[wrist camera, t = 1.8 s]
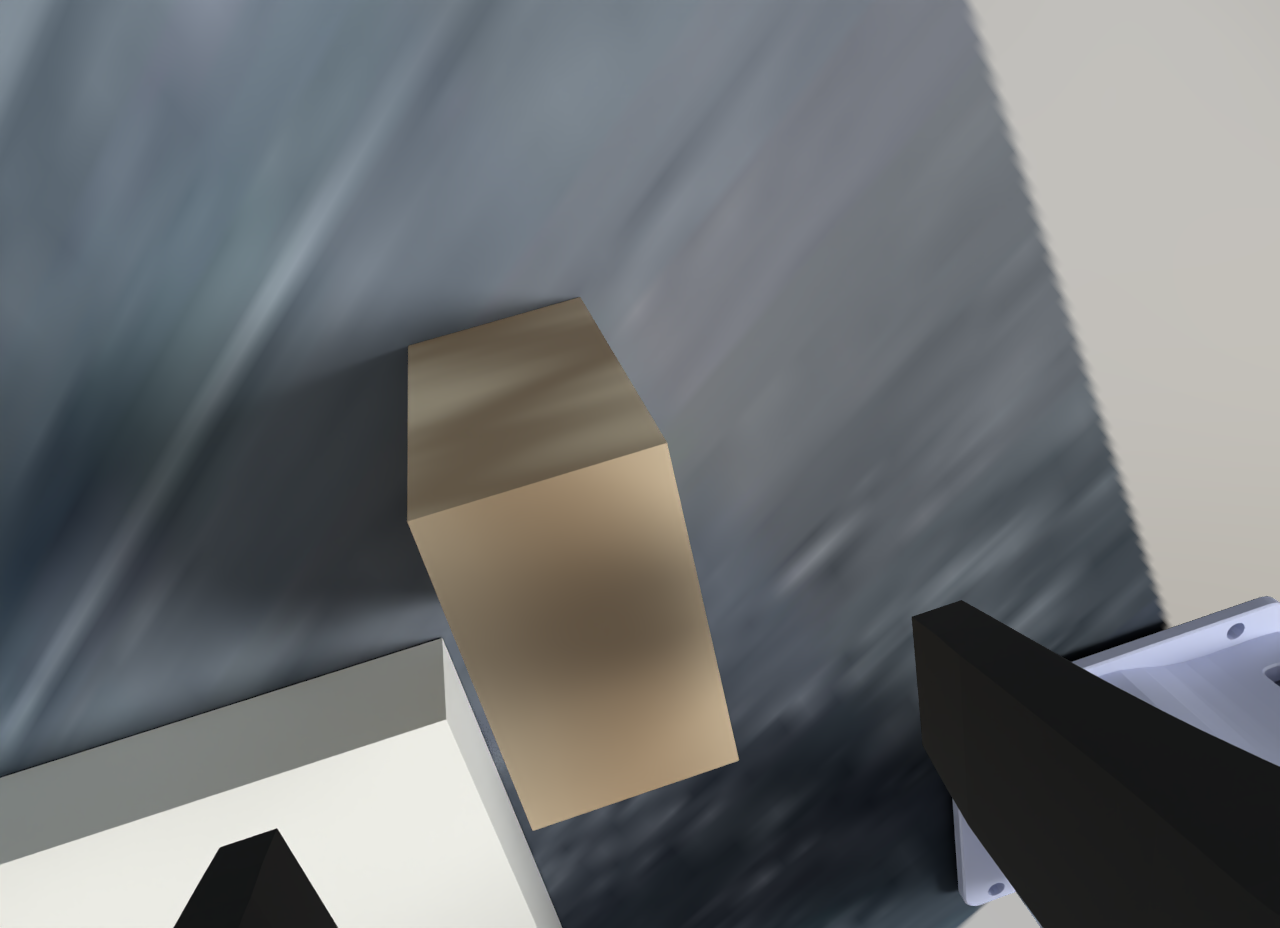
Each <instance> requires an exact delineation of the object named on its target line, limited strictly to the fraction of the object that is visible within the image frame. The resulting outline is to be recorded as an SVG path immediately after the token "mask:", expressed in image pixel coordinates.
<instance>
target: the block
mask: <svg viewBox="0 0 1280 928" xmlns="http://www.w3.org/2000/svg"><path fill="white" fill-rule="evenodd" d="M407 522H408V525H409V527H410V530H411V532H412V534H413V537H414V539H415V542H416V544H417V547H418V549H419V552H420V554H421V557H422V559H423V562H424V564H425V567H426V569H427V571H428V574H429V576H430V579H431V581H432V584H433V586H434V589H435V591H436V594H437V596H438V599H439V601H440V603H441V606H442V608H443V611H444V613H445V616H446V618H447V621H448V623H449V626H450V628H451V631H452V633H453V636H454V638H455V640H456V643H457V645H458V648H459V650H460V653H461V655H462V658H463V660H464V663H465V665H466V668H467V670H468V672H469V675H470V677H471V680H472V682H473V685H474V687H475V690H476V692H477V695H478V697H479V700H480V702H481V705H482V707H483V709H484V712H485V714H486V717H487V719H488V722H489V724H490V727H491V729H492V732H493V734H494V737H495V739H496V742H497V744H498V746H499V749H500V751H501V754H502V756H503V759H504V761H505V764H506V766H507V769H508V771H509V774H510V776H511V778H512V781H513V783H514V786H515V788H516V791H517V793H518V796H519V798H520V801H521V803H522V806H523V808H524V811H525V813H526V815H527V818H528V820H529V823H530V825H531V828H532V830H533V831H534V830H537V829H540V828H543V827H546V826H549V825H552V824H555V823H557V822H560V821H563V820H566V819H569V818H572V817H575V816H578V815H581V814H584V813H587V812H590V811H593V810H596V809H599V808H601V807H604V806H607V805H610V804H613V803H616V802H619V801H622V800H625V799H628V798H631V797H634V796H637V795H640V794H642V793H645V792H648V791H651V790H654V789H657V788H660V787H663V786H666V785H669V784H672V783H675V782H678V781H681V780H683V779H686V778H689V777H692V776H695V775H698V774H701V773H704V772H707V771H710V770H713V769H716V768H719V767H722V766H724V765H727V764H730V763H733V762H736V761H739V758H738V754H737V749H736V745H735V740H734V736H733V732H732V727H731V723H730V718H729V714H728V710H727V705H726V701H725V696H724V692H723V687H722V683H721V679H720V674H719V670H718V665H717V661H716V657H715V652H714V648H713V643H712V639H711V635H710V630H709V626H708V621H707V617H706V613H705V608H704V604H703V599H702V595H701V591H700V586H699V582H698V577H697V573H696V569H695V564H694V560H693V555H692V551H691V547H690V542H689V538H688V533H687V529H686V525H685V520H684V516H683V511H682V507H681V503H680V498H679V494H678V489H677V485H676V480H675V476H674V472H673V467H672V463H671V458H670V454H669V450H668V445H667V442H666V440H665V439H664V437H663V435H662V434H661V432H660V430H659V429H658V427H657V425H656V424H655V422H654V420H653V419H652V417H651V415H650V414H649V412H648V410H647V409H646V407H645V405H644V403H643V402H642V400H641V398H640V397H639V395H638V393H637V392H636V390H635V388H634V387H633V385H632V383H631V382H630V380H629V378H628V377H627V375H626V373H625V372H624V370H623V368H622V367H621V365H620V363H619V362H618V360H617V358H616V356H615V355H614V353H613V351H612V350H611V348H610V346H609V345H608V343H607V341H606V340H605V338H604V336H603V335H602V333H601V331H600V330H599V328H598V326H597V325H596V323H595V321H594V320H593V318H592V316H591V315H590V313H589V311H588V309H587V308H586V306H585V304H584V303H583V301H582V299H581V298H580V297H579V298H575V299H572V300H568V301H565V302H561V303H558V304H554V305H551V306H547V307H543V308H540V309H536V310H533V311H529V312H526V313H522V314H519V315H515V316H512V317H508V318H505V319H501V320H498V321H494V322H491V323H487V324H483V325H480V326H476V327H473V328H469V329H466V330H462V331H459V332H455V333H452V334H448V335H445V336H441V337H438V338H434V339H431V340H427V341H423V342H420V343H416V344H413V345H409V346H408V470H407Z"/></svg>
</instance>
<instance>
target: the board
mask: <svg viewBox="0 0 1280 928" xmlns="http://www.w3.org/2000/svg"><path fill="white" fill-rule="evenodd" d="M276 828H277V829H278V830H279V832H280V833H281V835H282V837H283V838H284V840H285V842H286V843H287V845H288V847H289V848H290V850H291V851H292V853H293V855H294V856H295V858H296V860H297V861H298V863H299V864H300V866H301V868H302V869H303V871H304V873H305V874H306V876H307V878H308V879H309V881H310V882H311V884H312V886H313V887H314V889H315V891H316V892H317V894H318V895H319V897H320V899H321V900H322V902H323V904H324V905H325V907H326V909H327V910H328V912H329V913H330V915H331V917H332V918H333V920H334V922H335V923H336V925H337V926H338V928H562V926H561V923H560V921H559V918H558V916H557V914H556V911H555V909H554V906H553V904H552V902H551V899H550V897H549V894H548V892H547V890H546V887H545V885H544V882H543V880H542V877H541V875H540V873H539V870H538V868H537V865H536V863H535V861H534V858H533V856H532V853H531V851H530V849H529V846H528V844H527V841H526V839H525V836H524V834H523V832H522V829H521V827H520V824H519V822H518V820H517V817H516V815H515V812H514V810H513V808H512V805H511V803H510V800H509V798H508V795H507V793H506V791H505V788H504V786H503V783H502V781H501V779H500V776H499V774H498V771H497V769H496V767H495V764H494V762H493V759H492V757H491V754H490V752H489V750H488V747H487V745H486V742H485V740H484V738H483V735H482V733H481V730H480V728H479V726H478V723H477V721H476V718H475V716H474V713H473V711H472V709H471V706H470V704H469V701H468V699H467V697H466V694H465V692H464V689H463V687H462V685H461V682H460V680H459V677H458V675H457V672H456V670H455V668H454V665H453V663H452V660H451V658H450V656H449V653H448V651H447V648H446V646H445V644H444V641H443V639H442V638H441V639H437V640H434V641H431V642H428V643H425V644H422V645H418V646H415V647H412V648H409V649H406V650H403V651H399V652H396V653H393V654H390V655H387V656H384V657H381V658H377V659H374V660H371V661H368V662H365V663H362V664H358V665H355V666H352V667H349V668H346V669H343V670H339V671H336V672H333V673H330V674H327V675H324V676H321V677H317V678H314V679H311V680H308V681H305V682H302V683H298V684H295V685H292V686H289V687H286V688H283V689H279V690H276V691H273V692H270V693H267V694H264V695H260V696H257V697H254V698H251V699H248V700H245V701H242V702H238V703H235V704H232V705H229V706H226V707H223V708H219V709H216V710H213V711H210V712H207V713H204V714H200V715H197V716H194V717H191V718H188V719H185V720H182V721H178V722H175V723H172V724H169V725H166V726H163V727H159V728H156V729H153V730H150V731H147V732H144V733H140V734H137V735H134V736H131V737H128V738H125V739H122V740H118V741H115V742H112V743H109V744H106V745H103V746H99V747H96V748H93V749H90V750H87V751H84V752H80V753H77V754H74V755H71V756H68V757H65V758H61V759H58V760H55V761H52V762H49V763H46V764H43V765H39V766H36V767H33V768H30V769H27V770H24V771H20V772H17V773H14V774H11V775H8V776H5V777H1V778H0V928H174V926H175V924H176V922H177V920H178V919H179V917H180V915H181V913H182V912H183V910H184V908H185V906H186V904H187V903H188V901H189V899H190V897H191V896H192V894H193V892H194V890H195V889H196V887H197V885H198V883H199V882H200V880H201V878H202V877H203V875H204V873H205V871H206V870H207V868H208V866H209V865H210V863H211V861H212V859H213V858H214V856H215V854H216V853H217V851H218V849H219V847H222V846H225V845H228V844H231V843H234V842H237V841H240V840H243V839H246V838H249V837H252V836H255V835H258V834H261V833H264V832H267V831H270V830H273V829H276Z"/></svg>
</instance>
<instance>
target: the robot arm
mask: <svg viewBox="0 0 1280 928" xmlns="http://www.w3.org/2000/svg"><path fill="white" fill-rule="evenodd" d="M912 626H913V637H914V649H915V661H916V673H917V685H918V696H919V708H920V720H921V732H922V744H923V747H924V748H925V750H926V752H927V754H928V756H929V757H930V759H931V761H932V763H933V765H934V766H935V768H936V770H937V772H938V774H939V775H940V777H941V779H942V781H943V783H944V784H945V786H946V788H947V790H948V791H949V793H950V795H951V797H952V800H953V815H954V830H955V845H956V860H957V875H958V890H959V893H960V895H961V897H962V898H963V900H964V901H965V903H966V904H968V905H972V906H977V905H981V904H984V903H987V902H989V901H992V900H995V899H997V898H1000V897H1003V896H1006V895H1008V894H1011V893H1014V892H1017V894H1018V895H1019V897H1020V898H1021V900H1022V901H1023V903H1024V904H1025V905H1026V907H1027V908H1028V910H1029V911H1030V913H1031V914H1032V916H1033V917H1034V919H1035V920H1036V922H1037V923H1038V924H1039V926H1040V927H1041V928H1280V602H1278V601H1277V600H1275V599H1274V598H1272V597H1269V596H1265V597H1260V598H1257V599H1253V600H1251V601H1248V602H1245V603H1242V604H1239V605H1236V606H1233V607H1230V608H1228V609H1225V610H1221V611H1218V612H1216V613H1213V614H1210V615H1207V616H1204V617H1201V618H1198V619H1195V620H1192V621H1190V622H1186V623H1183V624H1181V625H1178V626H1175V627H1172V628H1169V629H1166V630H1163V631H1160V632H1157V633H1154V634H1151V635H1149V636H1146V637H1143V638H1140V639H1137V640H1134V641H1131V642H1128V643H1125V644H1122V645H1119V646H1116V647H1114V648H1111V649H1108V650H1105V651H1102V652H1099V653H1096V654H1093V655H1090V656H1087V657H1084V658H1081V659H1079V660H1076V661H1073V662H1070V661H1069V660H1067V659H1065V658H1063V657H1061V656H1060V655H1058V654H1056V653H1054V652H1052V651H1051V650H1049V649H1047V648H1045V647H1044V646H1042V645H1040V644H1038V643H1036V642H1035V641H1033V640H1031V639H1029V638H1028V637H1026V636H1024V635H1022V634H1021V633H1019V632H1017V631H1015V630H1014V629H1012V628H1010V627H1008V626H1007V625H1005V624H1003V623H1001V622H999V621H998V620H996V619H994V618H992V617H991V616H989V615H987V614H985V613H984V612H982V611H980V610H978V609H976V608H975V607H973V606H971V605H969V604H967V603H966V602H964V601H962V600H961V601H958V602H955V603H952V604H949V605H946V606H943V607H940V608H937V609H934V610H931V611H928V612H925V613H922V614H919V615H916V616H913V617H912ZM174 928H338V926H337V925H336V923H335V922H334V920H333V918H332V917H331V915H330V913H329V912H328V910H327V909H326V907H325V905H324V904H323V902H322V900H321V899H320V897H319V895H318V894H317V892H316V891H315V889H314V887H313V886H312V884H311V882H310V881H309V879H308V878H307V876H306V874H305V873H304V871H303V869H302V868H301V866H300V864H299V863H298V861H297V860H296V858H295V856H294V855H293V853H292V851H291V850H290V848H289V847H288V845H287V843H286V842H285V840H284V838H283V837H282V835H281V833H280V832H279V830H278V829H277V828H276V829H273V830H270V831H267V832H264V833H261V834H258V835H255V836H252V837H249V838H246V839H243V840H240V841H237V842H234V843H231V844H228V845H225V846H222V847H219V849H218V851H217V853H216V854H215V856H214V858H213V859H212V861H211V863H210V865H209V866H208V868H207V870H206V871H205V873H204V875H203V877H202V878H201V880H200V882H199V883H198V885H197V887H196V889H195V890H194V892H193V894H192V896H191V897H190V899H189V901H188V903H187V904H186V906H185V908H184V910H183V912H182V913H181V915H180V917H179V919H178V920H177V922H176V924H175V926H174Z"/></svg>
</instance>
